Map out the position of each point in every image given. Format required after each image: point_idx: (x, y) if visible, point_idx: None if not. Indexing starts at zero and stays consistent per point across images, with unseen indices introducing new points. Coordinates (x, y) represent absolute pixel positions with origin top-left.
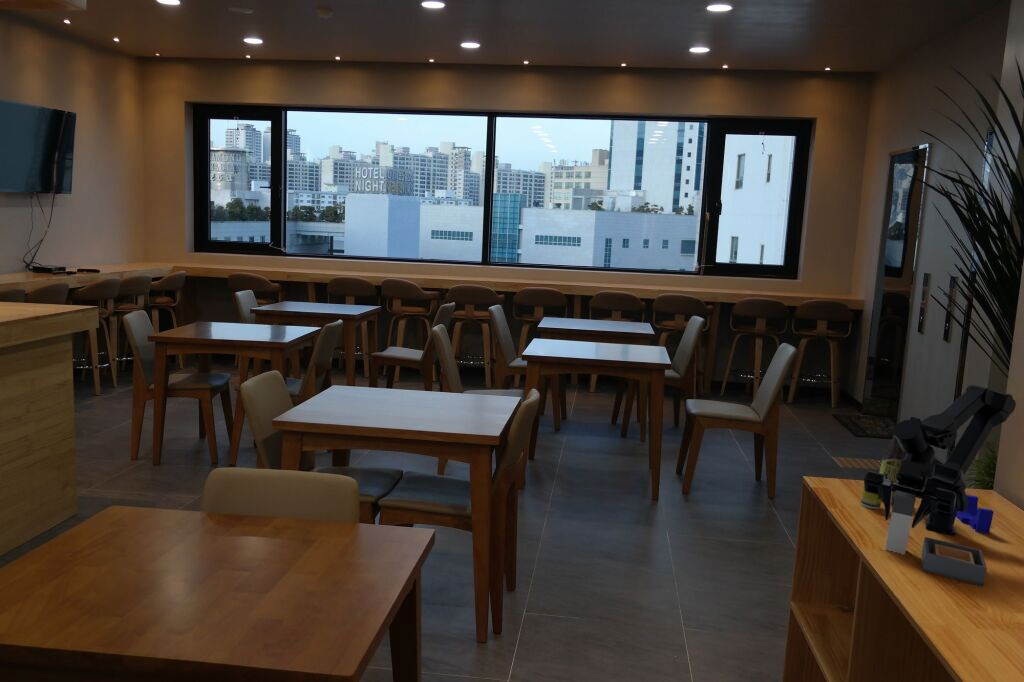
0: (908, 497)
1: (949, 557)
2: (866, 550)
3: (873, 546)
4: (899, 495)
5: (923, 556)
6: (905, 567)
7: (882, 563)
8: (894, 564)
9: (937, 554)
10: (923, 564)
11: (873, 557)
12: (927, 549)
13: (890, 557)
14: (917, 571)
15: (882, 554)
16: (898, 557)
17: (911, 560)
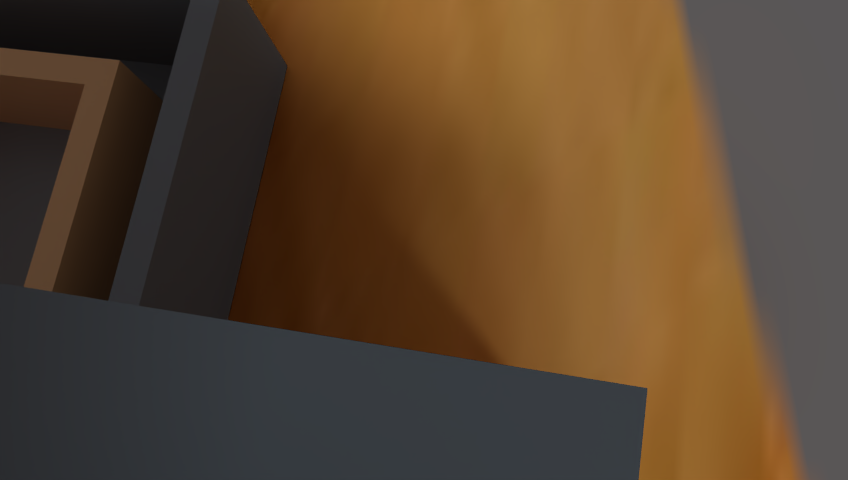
0: (95, 330)
1: (6, 54)
2: (740, 303)
3: (658, 476)
4: (471, 384)
5: (216, 244)
6: (419, 70)
7: (610, 47)
8: (505, 84)
9: (104, 68)
10: (261, 105)
11: (681, 147)
12: (180, 93)
13: (516, 241)
14: (334, 39)
15: (585, 280)
16: (438, 286)
17: (327, 276)
